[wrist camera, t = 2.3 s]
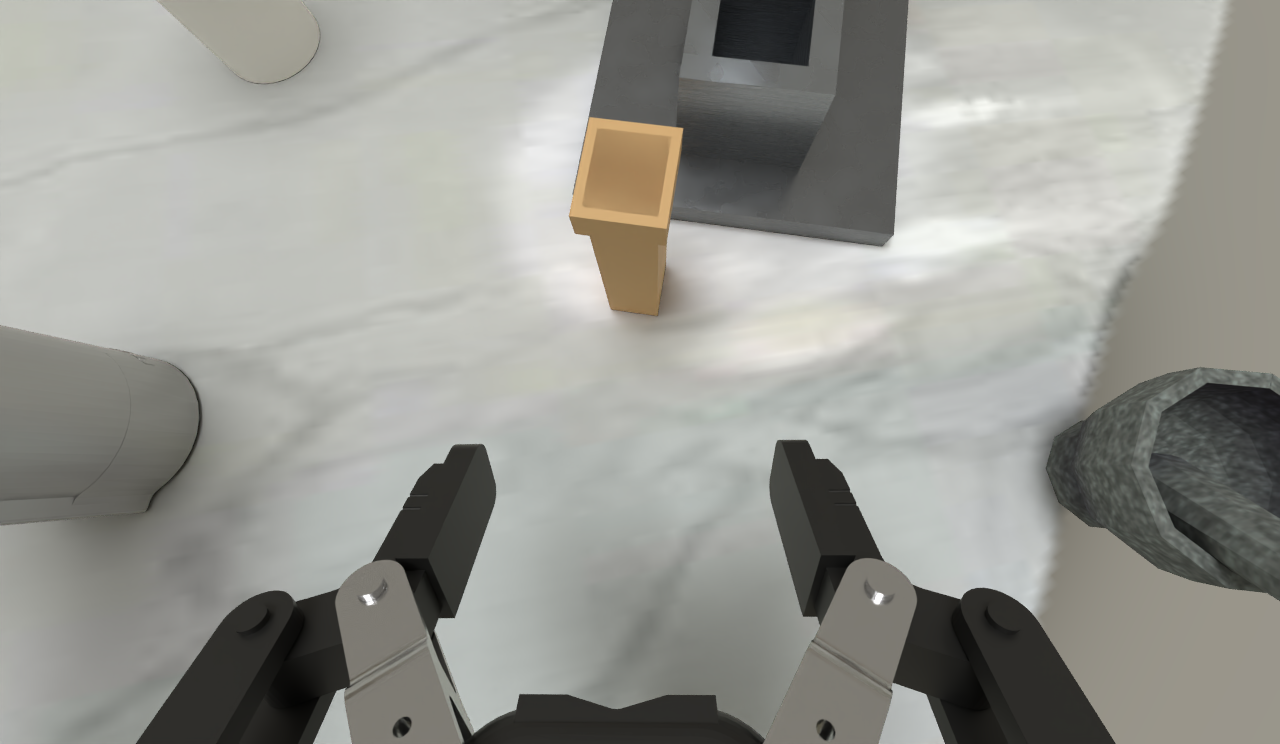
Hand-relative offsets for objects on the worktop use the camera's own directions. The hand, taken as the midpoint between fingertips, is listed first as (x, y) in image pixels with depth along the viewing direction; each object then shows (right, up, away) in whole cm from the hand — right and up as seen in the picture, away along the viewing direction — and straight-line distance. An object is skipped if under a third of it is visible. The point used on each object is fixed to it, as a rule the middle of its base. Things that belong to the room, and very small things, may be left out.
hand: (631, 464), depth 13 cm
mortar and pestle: (+26, -4, +14) cm, 30 cm away
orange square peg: (0, +8, +17) cm, 19 cm away
